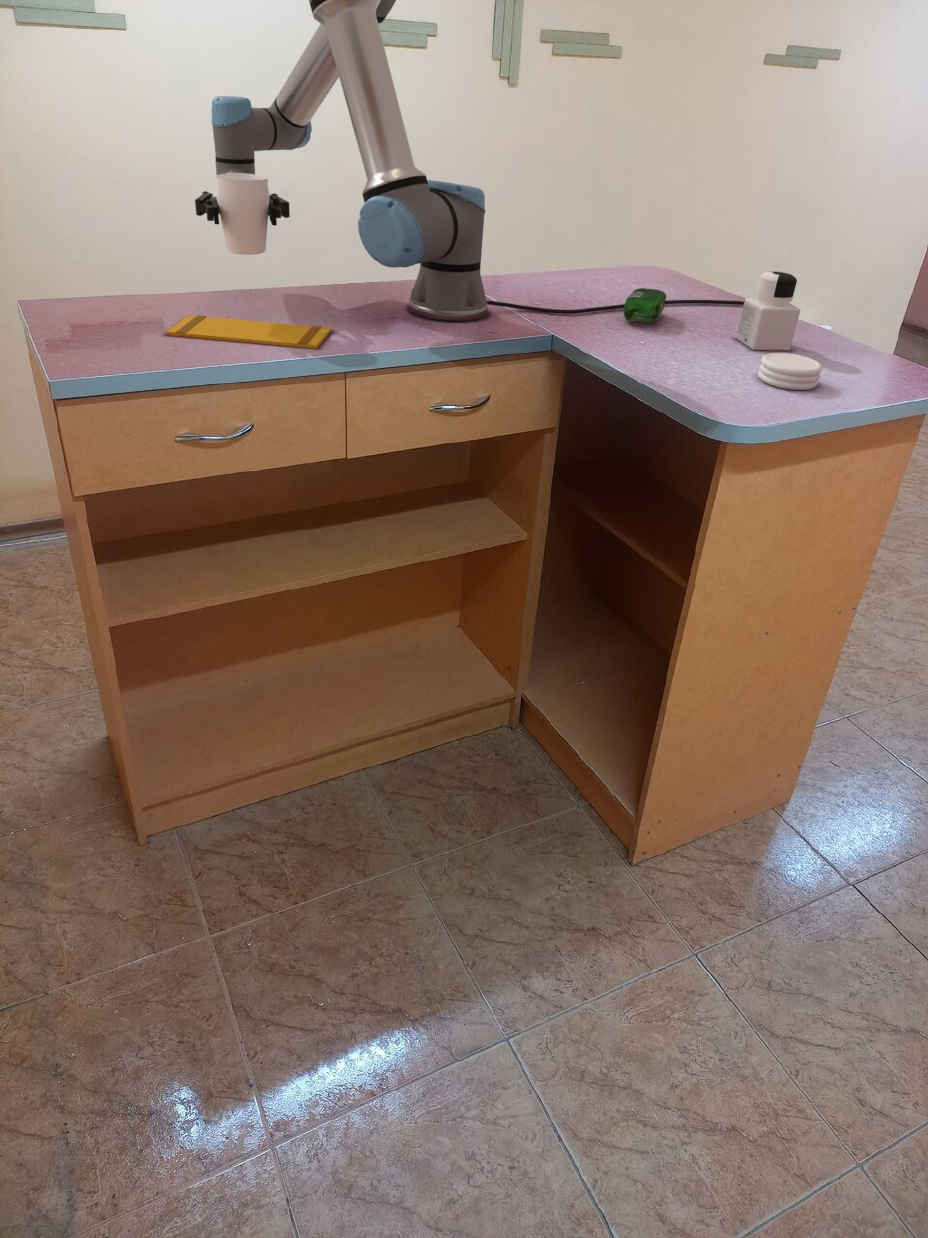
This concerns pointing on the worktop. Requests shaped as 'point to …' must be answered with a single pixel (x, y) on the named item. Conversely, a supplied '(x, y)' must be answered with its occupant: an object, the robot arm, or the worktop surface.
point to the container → (770, 314)
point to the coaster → (789, 371)
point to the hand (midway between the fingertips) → (245, 216)
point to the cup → (243, 211)
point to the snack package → (644, 305)
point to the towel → (250, 331)
